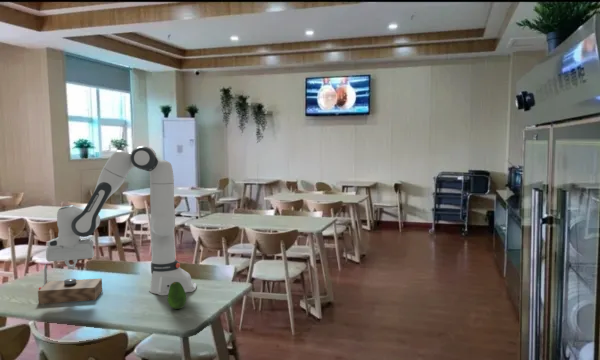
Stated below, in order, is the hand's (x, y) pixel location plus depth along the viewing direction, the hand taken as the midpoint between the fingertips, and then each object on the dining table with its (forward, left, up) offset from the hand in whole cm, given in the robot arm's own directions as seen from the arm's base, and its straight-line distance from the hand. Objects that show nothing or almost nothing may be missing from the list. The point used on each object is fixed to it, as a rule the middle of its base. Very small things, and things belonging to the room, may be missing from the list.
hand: (71, 268), depth 215 cm
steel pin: (+1, 0, -13) cm, 13 cm away
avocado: (-49, +26, -14) cm, 58 cm away
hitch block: (+1, 0, -13) cm, 13 cm away
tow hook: (+15, -16, -14) cm, 26 cm away
